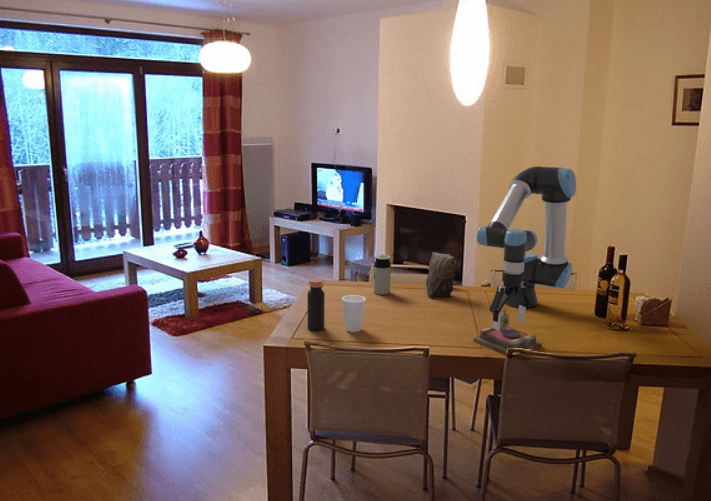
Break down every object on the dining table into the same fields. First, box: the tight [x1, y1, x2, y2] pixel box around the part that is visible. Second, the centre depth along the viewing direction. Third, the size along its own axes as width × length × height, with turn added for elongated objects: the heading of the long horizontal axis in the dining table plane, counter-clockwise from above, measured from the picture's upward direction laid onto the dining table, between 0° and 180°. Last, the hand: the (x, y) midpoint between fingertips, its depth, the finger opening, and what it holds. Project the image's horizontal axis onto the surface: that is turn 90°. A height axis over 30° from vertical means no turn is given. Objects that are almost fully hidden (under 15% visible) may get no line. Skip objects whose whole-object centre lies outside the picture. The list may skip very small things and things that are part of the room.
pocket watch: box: [500, 306, 520, 337], centre depth 225 cm, size 8×8×10 cm
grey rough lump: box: [425, 251, 456, 300], centre depth 285 cm, size 13×13×20 cm
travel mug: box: [373, 254, 392, 296], centre depth 287 cm, size 8×8×18 cm
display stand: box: [472, 325, 543, 356], centre depth 226 cm, size 18×18×5 cm
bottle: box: [307, 278, 326, 332], centre depth 237 cm, size 7×7×20 cm
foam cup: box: [341, 294, 367, 333], centre depth 238 cm, size 10×9×13 cm
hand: (508, 325), depth 225 cm, fingers open, 13 cm apart
